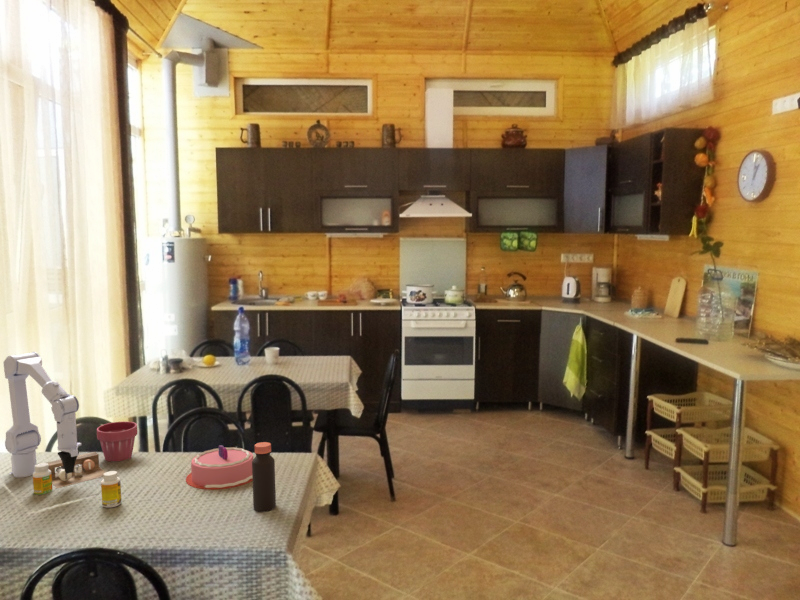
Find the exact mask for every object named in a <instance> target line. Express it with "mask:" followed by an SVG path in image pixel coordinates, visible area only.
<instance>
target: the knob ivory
mask: <svg viewBox="0 0 800 600" xmlns="http://www.w3.org/2000/svg"><path fill="white" fill-rule="evenodd" d="M55 472H56V473H57V472H58V473H59V478H60V479H61V480H63V481H67V480H69V479H70V478H71V476H72V473H68V474H67V473H66V472H65V470H64V469H62V468H61V466H60V467H56V468H55Z"/></svg>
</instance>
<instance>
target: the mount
mask: <svg viewBox="0 0 800 600" xmlns="http://www.w3.org/2000/svg"><path fill="white" fill-rule="evenodd" d="M87 459H90V460H92V461H93V462H94V463H95V466H94V468H93V469H92V470H89V471H87V470H85V469H84V468H83V467H82V473H83V476H82V477H81V478H74V471H73V472H72V476H71V478H70V479H69V480H67V481H63V480H61V479H60V478H59V473H58V472H57V471H56V469H57V468H58V467H61V468H62V469H64V466H63V463H62V460H61V459H57V460H53V461H48V462H46V463H48V466H49V468H48V469H49V470H51V473H52V486H54V488H56V489H59V488H63V487H64V488H65V487H67V486H71V485H76V484H80V483H85V482H87V481H92V480H96V479H99V478H103V474H104V473H106V472H107V471H105V470H104V469H103V468H101V467H100V455H99V453H98V452H96V451H92V452H89V453H84V454H79V455H78V456H77V459H76V462H75V465H78V464H81V465H82V463H83V461H85V460H87Z"/></svg>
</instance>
